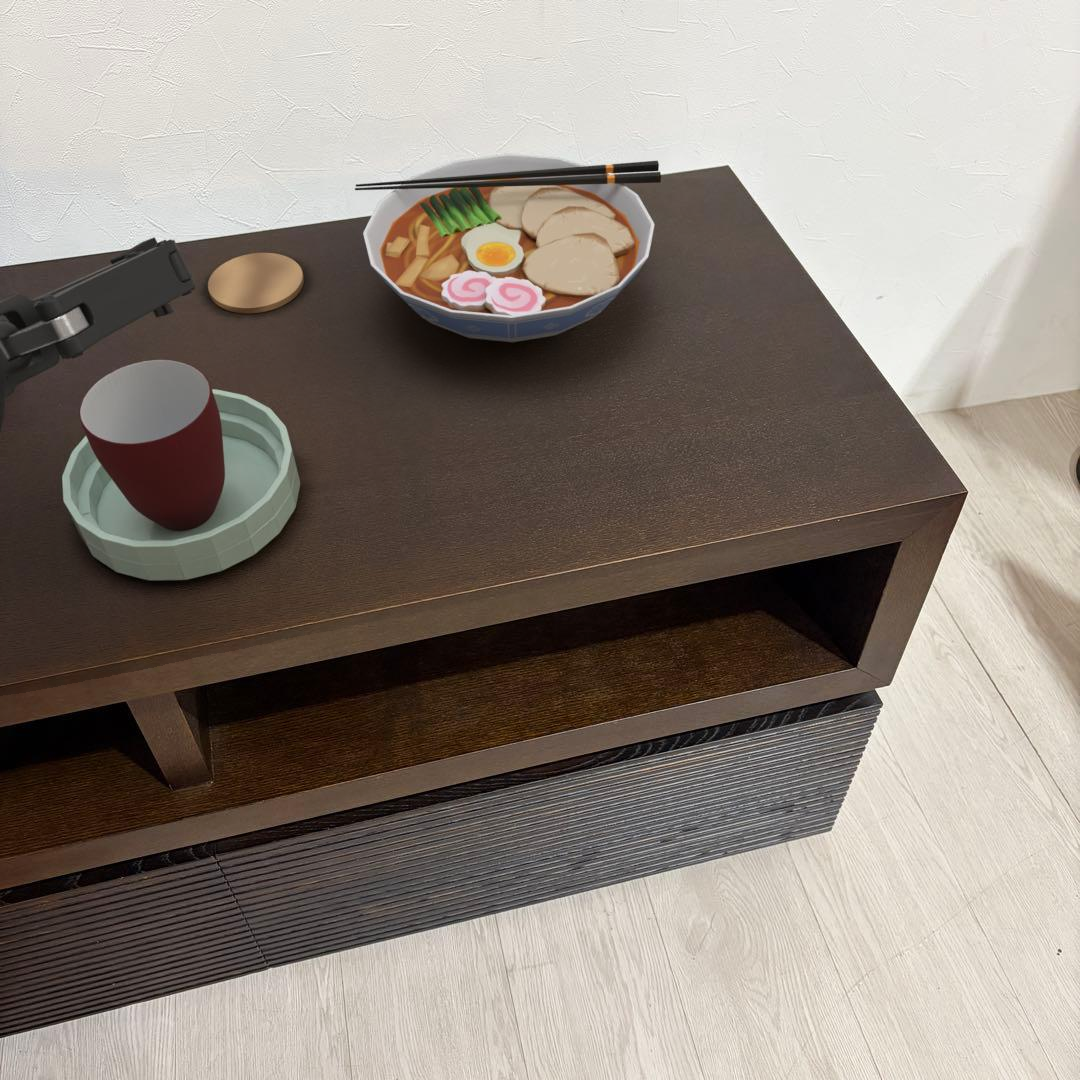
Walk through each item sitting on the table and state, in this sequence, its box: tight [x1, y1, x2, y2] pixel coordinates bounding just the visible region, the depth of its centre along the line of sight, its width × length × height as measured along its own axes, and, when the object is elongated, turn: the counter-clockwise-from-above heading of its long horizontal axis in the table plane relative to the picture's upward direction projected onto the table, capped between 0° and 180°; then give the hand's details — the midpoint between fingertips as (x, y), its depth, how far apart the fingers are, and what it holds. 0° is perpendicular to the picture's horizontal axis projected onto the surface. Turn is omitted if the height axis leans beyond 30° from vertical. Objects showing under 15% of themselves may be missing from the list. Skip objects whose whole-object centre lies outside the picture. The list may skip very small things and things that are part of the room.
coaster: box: [207, 252, 305, 314], centre depth 94 cm, size 8×8×1 cm
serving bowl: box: [61, 388, 301, 581], centre depth 75 cm, size 15×15×4 cm
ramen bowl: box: [354, 153, 662, 343], centre depth 88 cm, size 25×23×8 cm
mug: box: [78, 359, 225, 531], centre depth 73 cm, size 10×8×10 cm
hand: (48, 306), depth 61 cm, fingers open, 13 cm apart
